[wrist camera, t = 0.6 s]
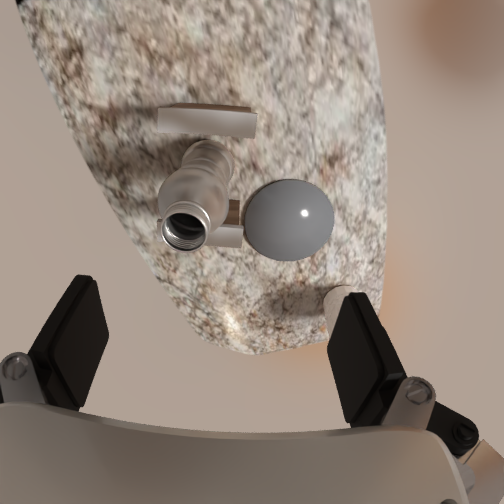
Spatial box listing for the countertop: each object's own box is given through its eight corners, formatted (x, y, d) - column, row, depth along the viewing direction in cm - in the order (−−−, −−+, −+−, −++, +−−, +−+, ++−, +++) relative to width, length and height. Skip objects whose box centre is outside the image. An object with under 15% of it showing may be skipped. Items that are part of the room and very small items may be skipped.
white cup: (312, 294, 53) (324, 337, 44) (354, 274, 51) (372, 315, 42) (328, 321, 56) (340, 363, 48) (366, 303, 54) (383, 343, 46)
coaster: (250, 174, 41) (250, 175, 41) (342, 185, 42) (343, 187, 42) (240, 255, 48) (240, 257, 47) (322, 262, 49) (323, 264, 48)
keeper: (175, 100, 35) (157, 107, 28) (254, 105, 36) (257, 114, 29) (172, 210, 44) (157, 241, 36) (241, 215, 44) (241, 248, 37)
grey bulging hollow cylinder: (216, 191, 42) (198, 282, 25) (175, 164, 40) (127, 239, 23) (245, 155, 40) (246, 226, 23) (203, 126, 37) (167, 174, 20)
